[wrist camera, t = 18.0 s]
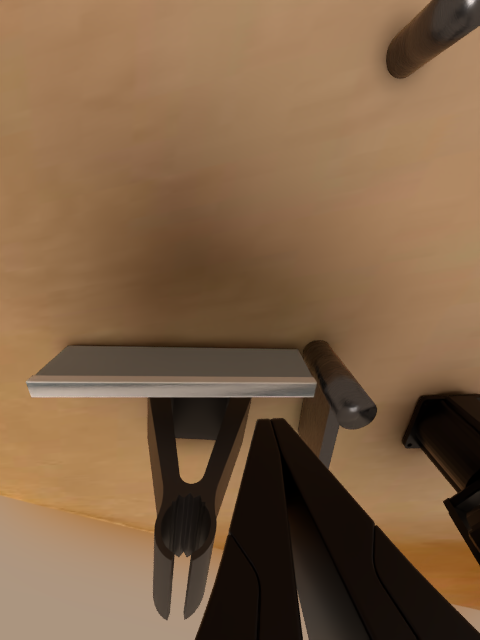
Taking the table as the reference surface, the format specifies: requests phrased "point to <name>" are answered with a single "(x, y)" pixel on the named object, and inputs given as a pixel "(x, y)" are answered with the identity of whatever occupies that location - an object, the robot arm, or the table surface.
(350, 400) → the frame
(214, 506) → the phone stand
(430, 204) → the table surface
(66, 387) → the grey flat bar
